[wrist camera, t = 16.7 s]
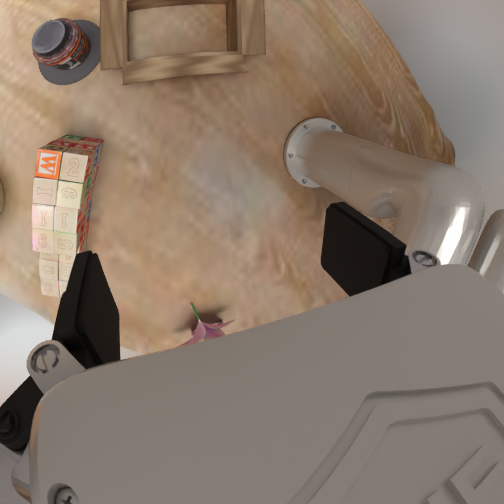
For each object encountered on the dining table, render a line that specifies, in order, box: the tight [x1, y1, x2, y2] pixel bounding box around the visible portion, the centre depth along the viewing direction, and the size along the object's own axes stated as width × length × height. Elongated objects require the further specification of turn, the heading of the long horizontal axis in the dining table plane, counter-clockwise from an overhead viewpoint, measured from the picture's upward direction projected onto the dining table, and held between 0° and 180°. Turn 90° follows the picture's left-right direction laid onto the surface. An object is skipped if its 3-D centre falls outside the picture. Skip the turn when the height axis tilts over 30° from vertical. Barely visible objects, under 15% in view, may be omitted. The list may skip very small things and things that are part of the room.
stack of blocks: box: [32, 135, 104, 297], centre depth 32 cm, size 21×6×12 cm, turn 158°
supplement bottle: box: [32, 18, 90, 70], centre depth 21 cm, size 6×6×11 cm
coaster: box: [38, 20, 100, 85], centre depth 25 cm, size 10×10×1 cm
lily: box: [175, 303, 235, 348], centre depth 54 cm, size 12×12×10 cm
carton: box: [100, 0, 266, 85], centre depth 27 cm, size 20×15×7 cm
